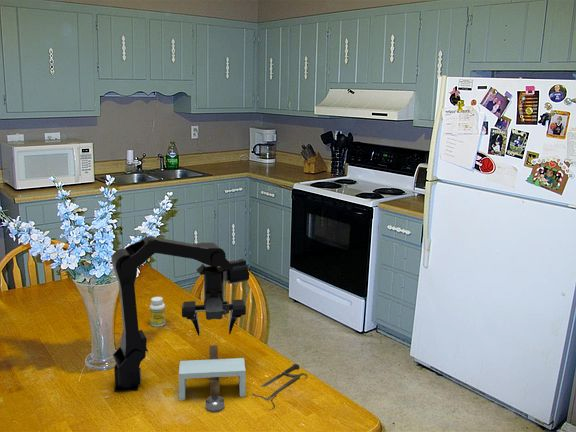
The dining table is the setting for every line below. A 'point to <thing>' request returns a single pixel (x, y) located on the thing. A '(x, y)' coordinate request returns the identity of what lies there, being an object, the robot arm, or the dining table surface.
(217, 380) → the walnut batten
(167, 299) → the dining table surface
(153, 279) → the dining table surface
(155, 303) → the supplement bottle
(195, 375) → the plinth bridge
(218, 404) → the steel puck
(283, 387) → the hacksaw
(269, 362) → the dining table surface
